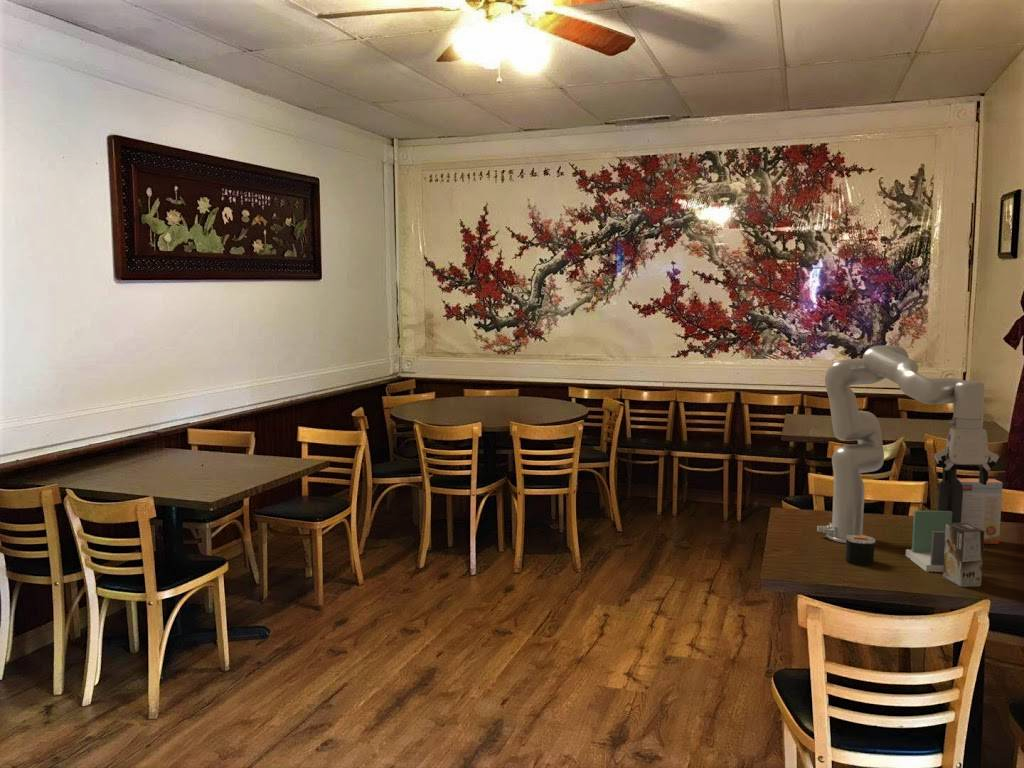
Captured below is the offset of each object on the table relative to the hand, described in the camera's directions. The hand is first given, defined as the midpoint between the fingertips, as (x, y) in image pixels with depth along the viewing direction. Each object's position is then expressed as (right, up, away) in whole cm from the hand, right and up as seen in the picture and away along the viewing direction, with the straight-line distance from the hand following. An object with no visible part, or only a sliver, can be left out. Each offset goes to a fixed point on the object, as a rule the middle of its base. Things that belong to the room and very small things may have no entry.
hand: (964, 483), depth 241 cm
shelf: (0, -26, +15) cm, 30 cm away
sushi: (-23, -26, +17) cm, 39 cm away
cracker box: (+23, -24, +39) cm, 51 cm away
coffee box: (-1, -28, 0) cm, 28 cm away
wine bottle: (+12, -25, +33) cm, 43 cm away
